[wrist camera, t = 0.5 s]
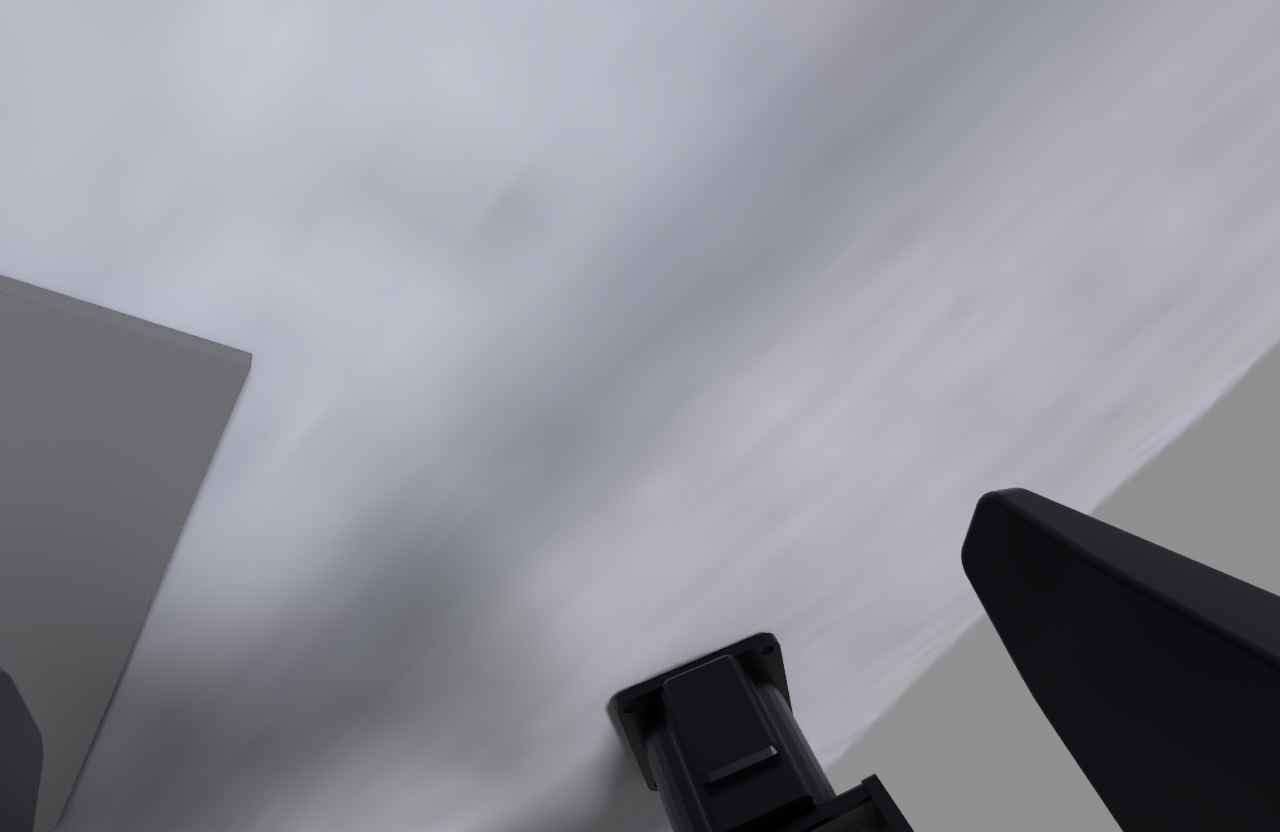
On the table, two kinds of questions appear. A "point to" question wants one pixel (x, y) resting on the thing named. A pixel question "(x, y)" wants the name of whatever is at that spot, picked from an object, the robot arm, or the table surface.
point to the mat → (92, 498)
